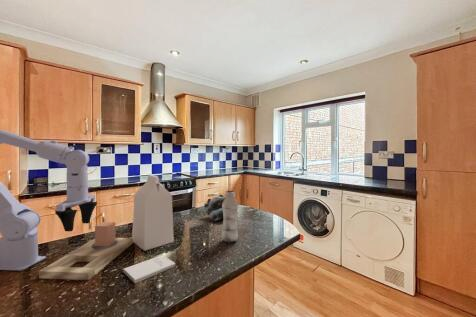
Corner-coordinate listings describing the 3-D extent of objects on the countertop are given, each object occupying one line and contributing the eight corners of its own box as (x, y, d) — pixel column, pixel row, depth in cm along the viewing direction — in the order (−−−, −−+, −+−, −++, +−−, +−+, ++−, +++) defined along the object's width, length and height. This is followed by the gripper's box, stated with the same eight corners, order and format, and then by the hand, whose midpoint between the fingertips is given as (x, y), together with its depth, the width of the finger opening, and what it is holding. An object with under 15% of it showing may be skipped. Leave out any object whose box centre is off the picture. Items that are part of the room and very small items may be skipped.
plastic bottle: (241, 240, 89) (242, 191, 88) (229, 245, 84) (230, 193, 83) (230, 236, 93) (230, 189, 92) (218, 240, 88) (218, 191, 87)
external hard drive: (122, 273, 65) (162, 258, 74) (134, 285, 59) (175, 267, 69) (122, 268, 65) (162, 254, 74) (134, 279, 59) (175, 262, 68)
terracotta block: (95, 245, 77) (94, 226, 76) (103, 240, 81) (103, 221, 81) (107, 246, 76) (107, 226, 76) (115, 241, 81) (115, 222, 81)
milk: (131, 240, 87) (131, 175, 86) (159, 233, 95) (159, 173, 94) (144, 250, 79) (144, 178, 78) (173, 241, 87) (174, 176, 86)
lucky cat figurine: (208, 223, 109) (200, 196, 113) (209, 225, 120) (203, 201, 124) (237, 214, 111) (228, 188, 115) (236, 216, 122) (228, 193, 127)
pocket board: (39, 278, 61) (38, 270, 61) (97, 242, 85) (97, 236, 85) (88, 279, 61) (88, 271, 60) (132, 243, 84) (132, 237, 84)
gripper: (72, 190, 66) (72, 235, 66) (103, 183, 80) (103, 220, 81) (49, 190, 66) (49, 234, 66) (84, 183, 80) (84, 219, 81)
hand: (77, 226), depth 74 cm, fingers open, 7 cm apart
